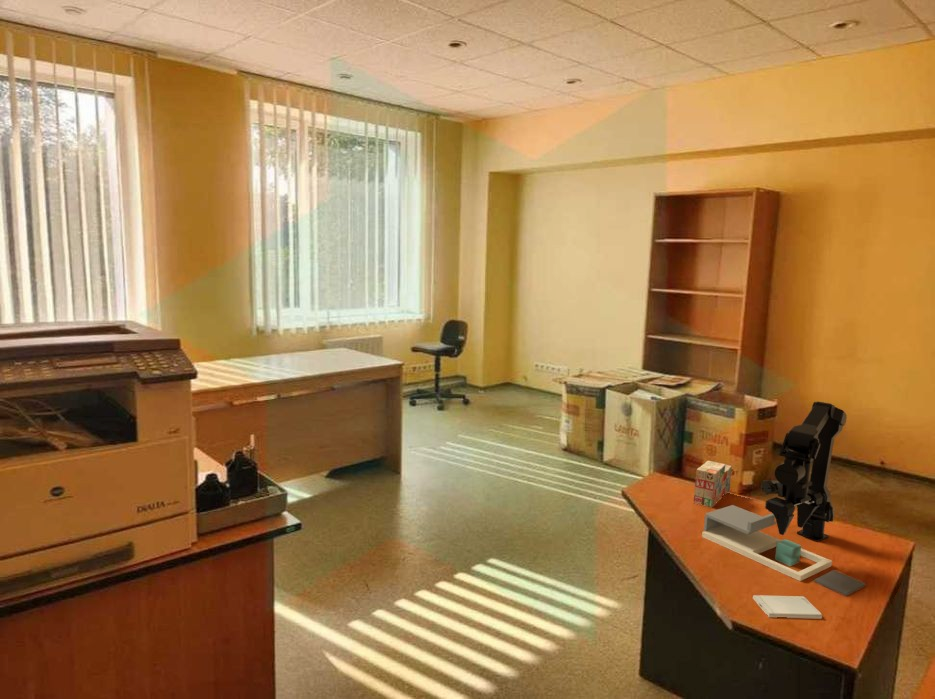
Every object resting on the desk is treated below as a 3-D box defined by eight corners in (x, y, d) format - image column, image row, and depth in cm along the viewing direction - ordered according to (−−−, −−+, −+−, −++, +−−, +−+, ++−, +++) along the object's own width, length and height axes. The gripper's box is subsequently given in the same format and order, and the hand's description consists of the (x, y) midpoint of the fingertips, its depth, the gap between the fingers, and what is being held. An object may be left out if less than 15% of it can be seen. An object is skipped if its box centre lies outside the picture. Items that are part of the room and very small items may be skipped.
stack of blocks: (711, 486, 230) (715, 454, 228) (729, 490, 226) (733, 457, 224) (693, 503, 213) (696, 468, 211) (712, 508, 209) (715, 473, 207)
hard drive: (803, 595, 154) (753, 593, 154) (822, 614, 146) (769, 612, 146) (802, 601, 154) (752, 600, 154) (821, 621, 146) (768, 619, 146)
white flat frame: (733, 525, 196) (734, 520, 196) (831, 566, 172) (832, 560, 172) (701, 536, 187) (702, 531, 187) (800, 581, 163) (800, 575, 163)
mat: (833, 572, 169) (833, 569, 169) (865, 585, 162) (865, 583, 162) (813, 581, 163) (814, 579, 163) (846, 596, 157) (846, 593, 157)
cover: (730, 520, 196) (733, 497, 194) (773, 538, 184) (776, 513, 183) (703, 529, 188) (706, 506, 187) (746, 548, 177) (749, 523, 175)
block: (783, 555, 177) (785, 539, 176) (799, 562, 174) (801, 545, 173) (774, 559, 175) (776, 542, 174) (790, 566, 171) (792, 549, 170)
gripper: (787, 462, 182) (781, 513, 185) (749, 473, 172) (743, 527, 174) (826, 474, 173) (819, 527, 176) (789, 486, 163) (782, 543, 165)
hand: (790, 530), depth 173 cm, fingers open, 9 cm apart
